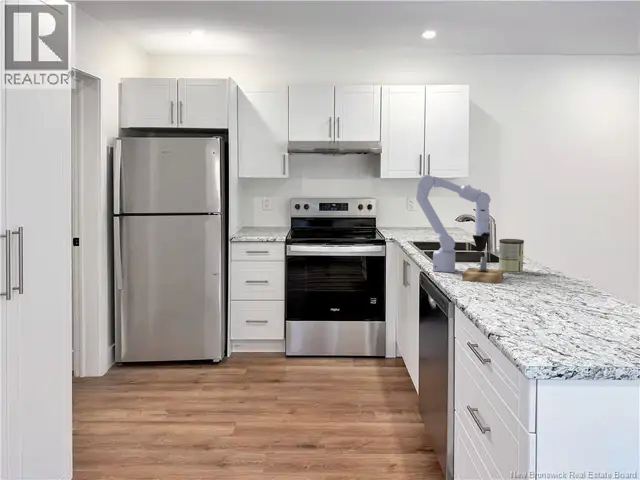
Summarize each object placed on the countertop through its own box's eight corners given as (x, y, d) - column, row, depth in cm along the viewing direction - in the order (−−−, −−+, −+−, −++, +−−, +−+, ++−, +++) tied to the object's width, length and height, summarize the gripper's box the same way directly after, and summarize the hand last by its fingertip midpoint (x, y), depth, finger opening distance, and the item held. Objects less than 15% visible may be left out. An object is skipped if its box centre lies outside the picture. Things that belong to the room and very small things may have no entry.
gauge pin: (479, 278, 229) (479, 257, 228) (481, 278, 231) (481, 256, 230) (484, 279, 227) (485, 257, 226) (486, 278, 229) (487, 256, 228)
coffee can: (496, 269, 252) (497, 238, 250) (519, 270, 251) (520, 238, 249) (501, 273, 242) (502, 241, 240) (525, 273, 241) (526, 241, 239)
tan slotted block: (462, 280, 226) (462, 272, 225) (468, 274, 238) (469, 267, 238) (498, 282, 220) (498, 275, 219) (503, 277, 232) (503, 270, 232)
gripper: (488, 221, 235) (487, 253, 237) (493, 218, 248) (492, 249, 250) (471, 220, 238) (470, 252, 240) (477, 218, 251) (476, 248, 253)
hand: (480, 250), depth 245 cm, fingers open, 7 cm apart
